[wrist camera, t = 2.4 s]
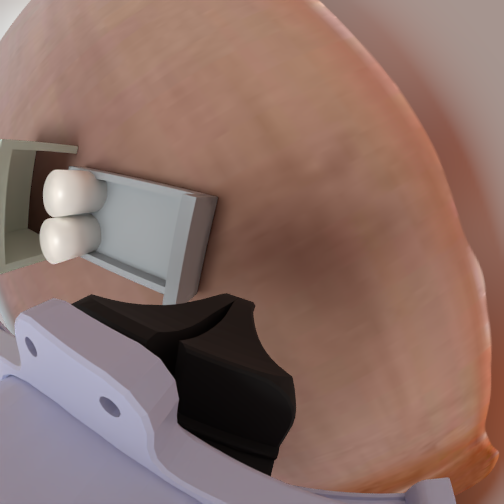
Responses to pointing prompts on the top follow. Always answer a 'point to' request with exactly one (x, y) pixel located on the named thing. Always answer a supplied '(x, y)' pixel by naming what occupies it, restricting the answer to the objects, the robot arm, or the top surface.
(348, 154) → the top surface
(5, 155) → the block
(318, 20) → the top surface
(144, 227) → the tray
